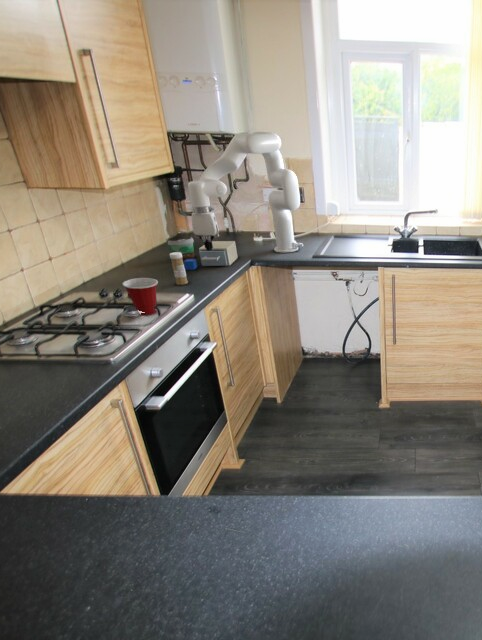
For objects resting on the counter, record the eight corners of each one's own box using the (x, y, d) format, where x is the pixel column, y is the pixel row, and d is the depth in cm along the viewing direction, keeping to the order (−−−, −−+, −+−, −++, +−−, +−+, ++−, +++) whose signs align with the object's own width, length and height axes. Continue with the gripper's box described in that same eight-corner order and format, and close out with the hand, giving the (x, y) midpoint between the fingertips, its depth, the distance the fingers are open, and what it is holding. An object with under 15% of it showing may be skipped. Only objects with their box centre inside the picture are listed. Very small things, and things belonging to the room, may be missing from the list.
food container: (177, 262, 232) (172, 242, 228) (171, 260, 235) (166, 240, 231) (202, 257, 241) (198, 238, 237) (195, 255, 244) (191, 236, 240)
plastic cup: (156, 318, 169) (148, 286, 164) (125, 318, 169) (115, 286, 163) (170, 307, 179) (162, 276, 174) (140, 307, 178) (132, 276, 173)
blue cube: (197, 267, 226) (195, 259, 224) (194, 269, 222) (192, 261, 221) (188, 267, 226) (186, 259, 224) (185, 269, 222) (183, 261, 220)
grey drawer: (223, 268, 223) (221, 254, 220) (198, 268, 221) (195, 254, 218) (234, 257, 239) (232, 244, 236) (210, 257, 238) (208, 244, 235)
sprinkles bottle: (175, 283, 204) (167, 252, 198) (186, 281, 207) (179, 251, 201) (178, 286, 201) (171, 255, 195) (189, 283, 204) (183, 253, 198)
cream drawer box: (229, 265, 229) (226, 248, 226) (202, 266, 228) (198, 248, 224) (237, 257, 242) (235, 241, 239) (212, 257, 241) (208, 241, 237)
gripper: (221, 208, 218) (228, 247, 225) (187, 208, 216) (195, 247, 223) (216, 211, 211) (223, 251, 219) (181, 211, 209) (189, 251, 217)
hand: (209, 249), depth 221 cm, fingers closed
